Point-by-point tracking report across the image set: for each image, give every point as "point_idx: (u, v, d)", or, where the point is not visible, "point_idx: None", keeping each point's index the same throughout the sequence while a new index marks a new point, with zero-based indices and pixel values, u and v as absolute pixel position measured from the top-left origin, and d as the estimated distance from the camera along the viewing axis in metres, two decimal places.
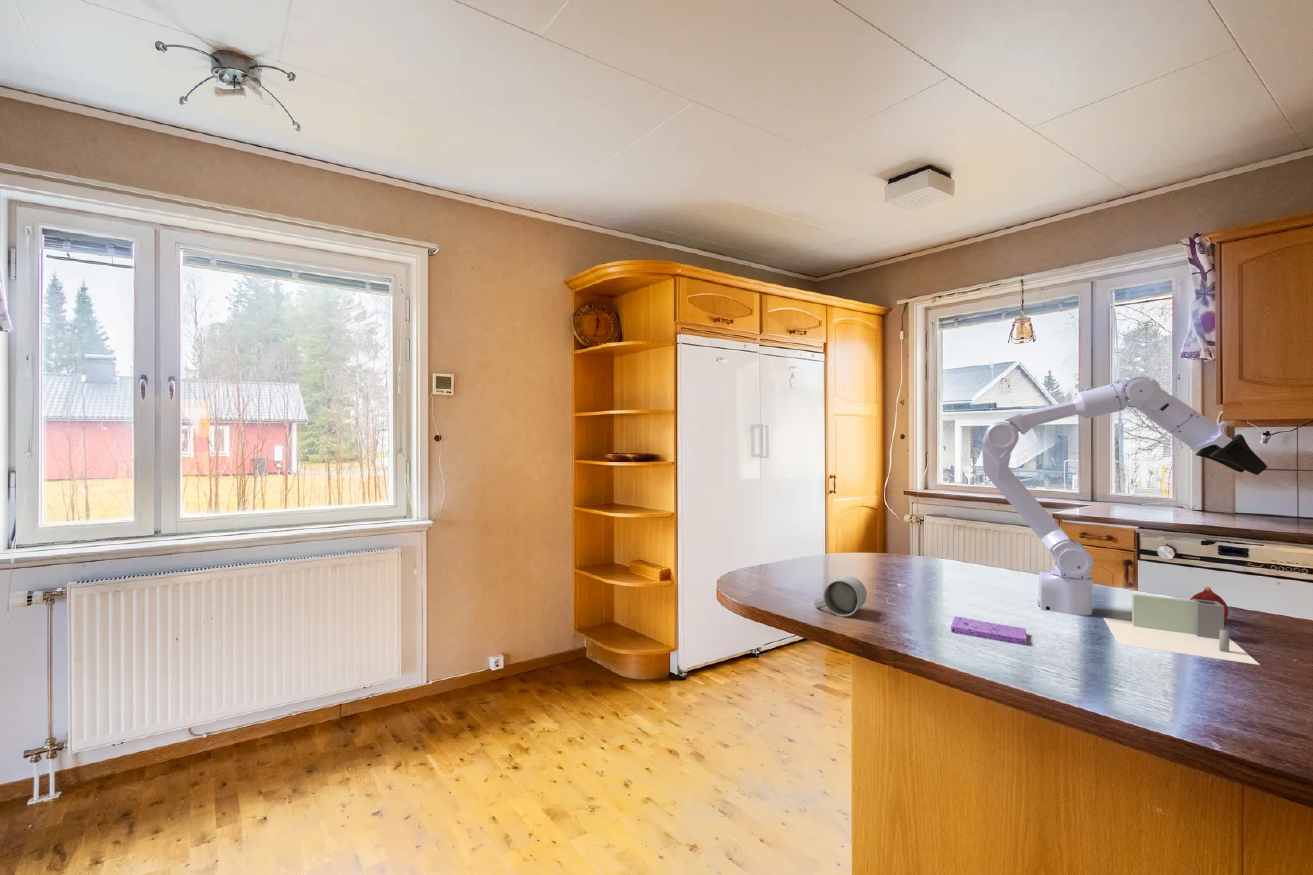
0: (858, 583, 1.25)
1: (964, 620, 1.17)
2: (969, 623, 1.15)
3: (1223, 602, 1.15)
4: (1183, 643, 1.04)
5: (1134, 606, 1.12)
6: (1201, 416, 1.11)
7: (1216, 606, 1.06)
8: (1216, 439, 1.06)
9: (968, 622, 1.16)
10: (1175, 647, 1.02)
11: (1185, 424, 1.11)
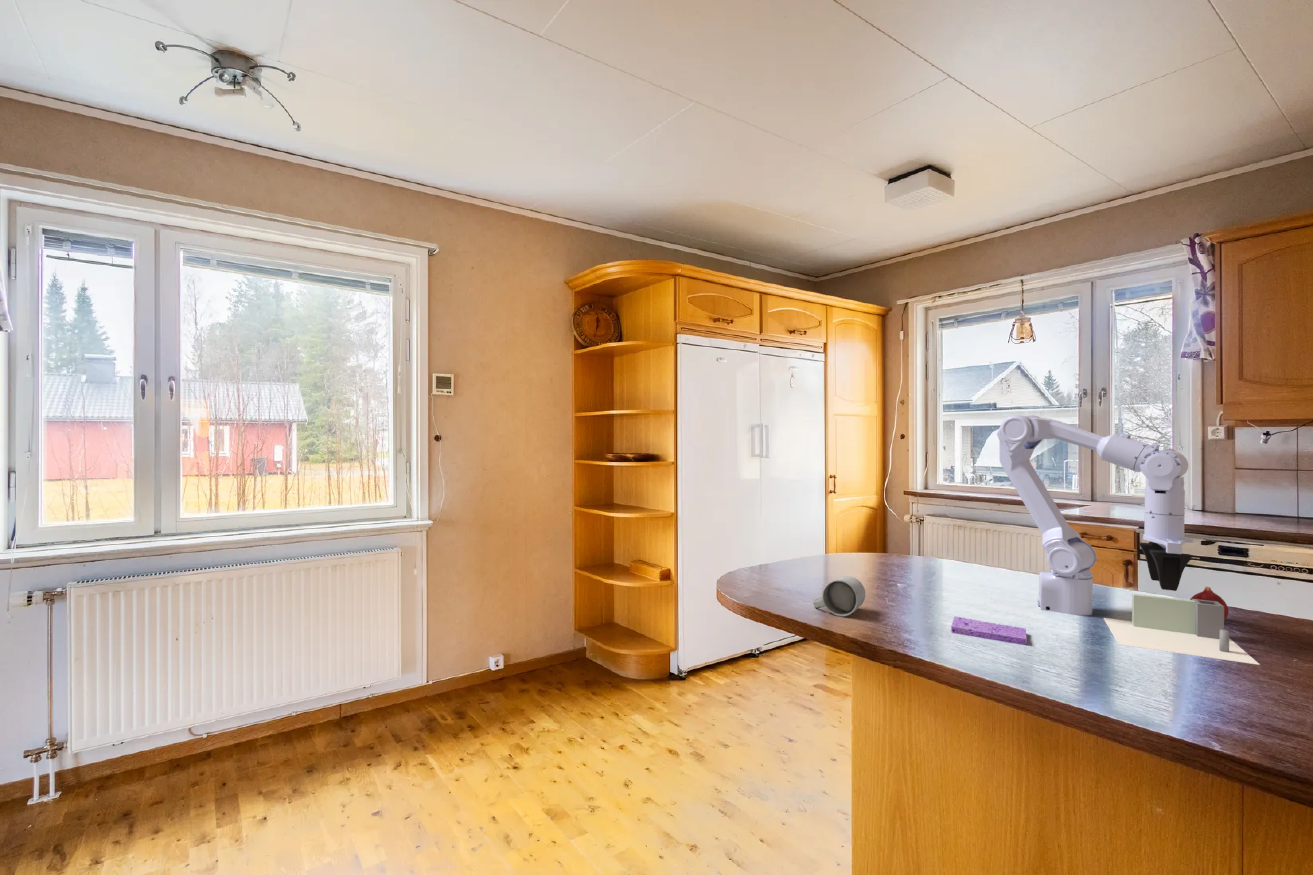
0: (857, 583, 1.25)
1: (963, 620, 1.17)
2: (969, 623, 1.15)
3: (1223, 602, 1.15)
4: (1183, 643, 1.04)
5: (1134, 606, 1.12)
6: (1182, 521, 1.08)
7: (1216, 606, 1.06)
8: (1171, 543, 1.05)
9: (968, 622, 1.16)
10: (1175, 647, 1.02)
11: (1164, 516, 1.08)
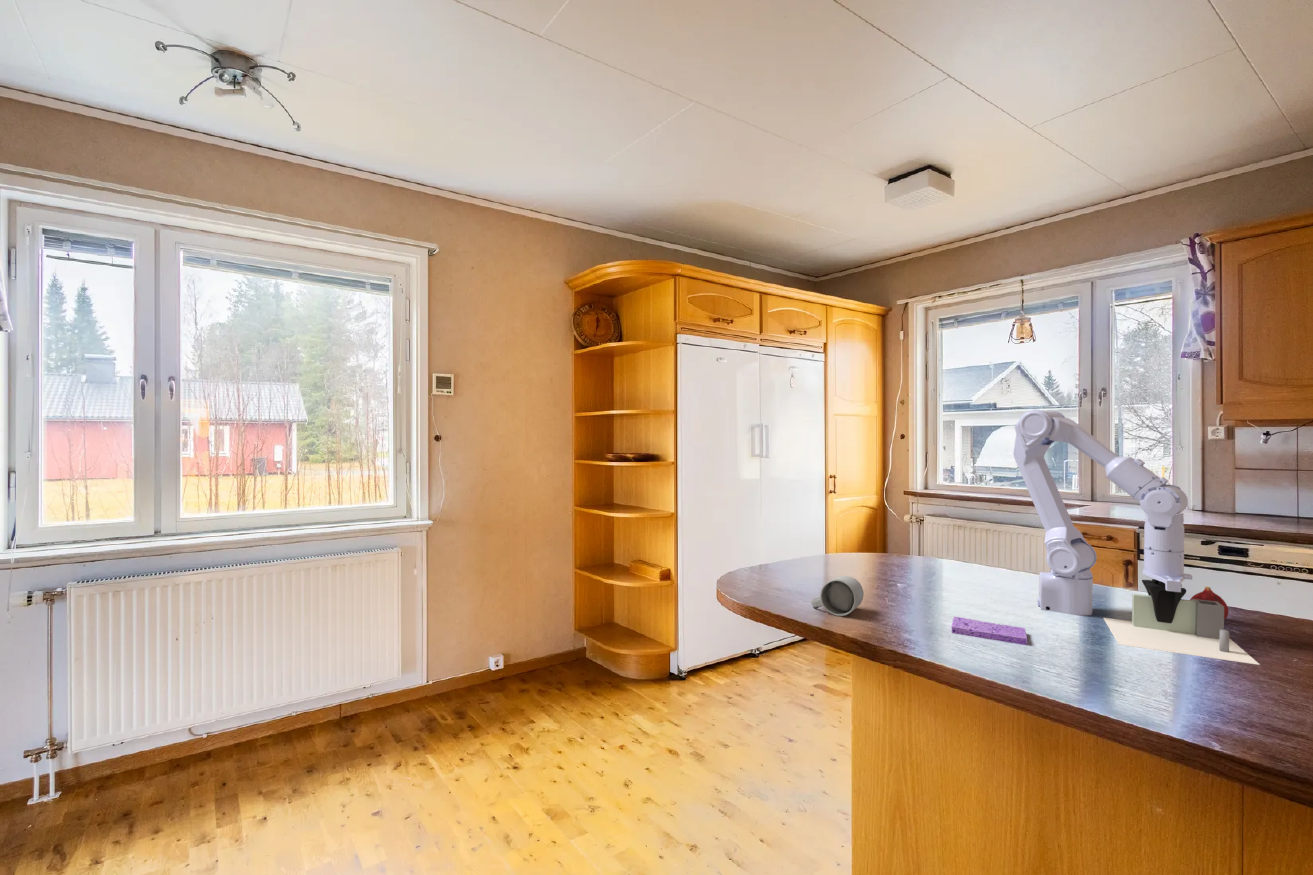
0: (855, 583, 1.26)
1: (963, 620, 1.17)
2: (969, 623, 1.15)
3: (1223, 602, 1.15)
4: (1183, 643, 1.04)
5: (1134, 606, 1.12)
6: (1182, 558, 1.08)
7: (1216, 606, 1.06)
8: (1170, 581, 1.05)
9: (968, 622, 1.16)
10: (1175, 647, 1.02)
11: (1164, 553, 1.08)
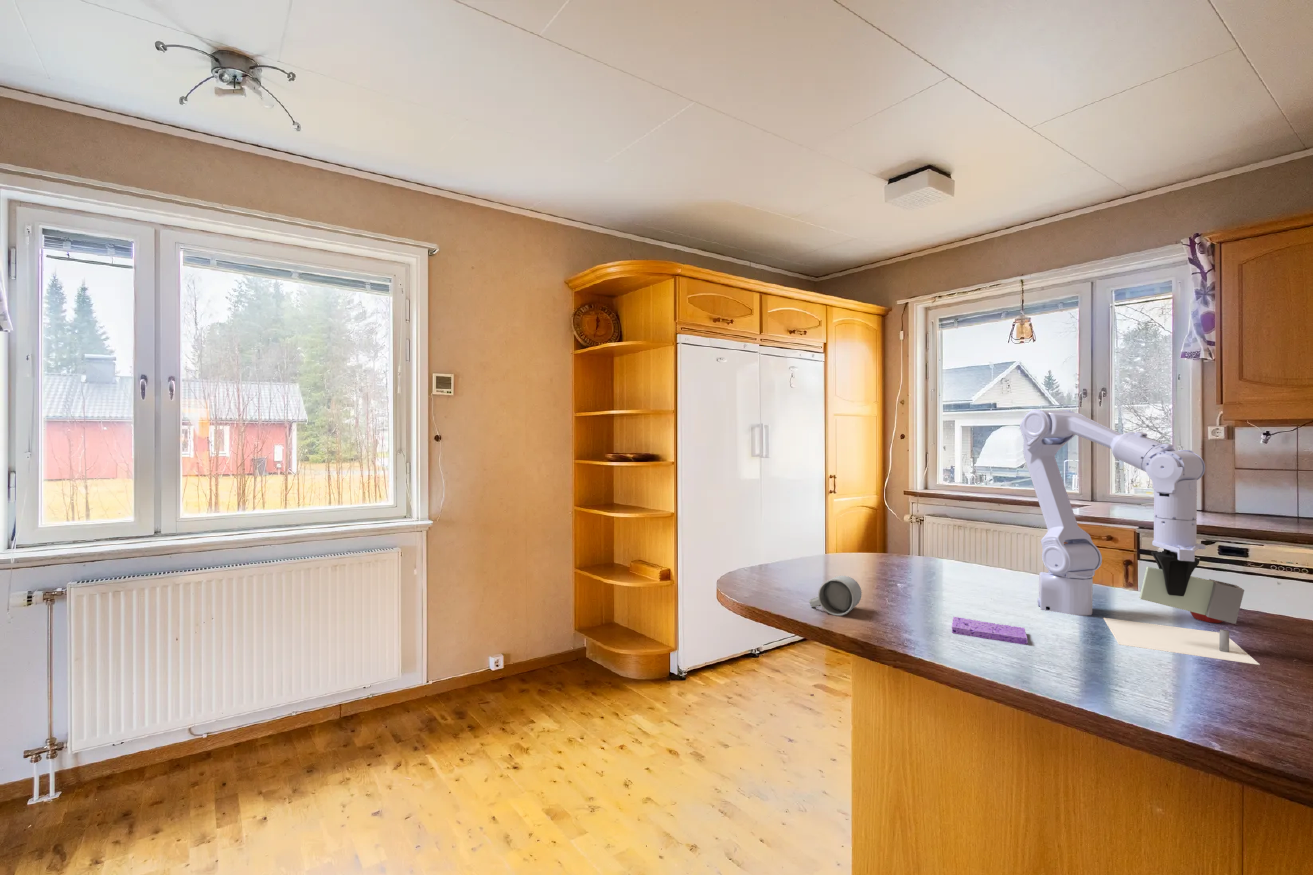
0: (853, 582, 1.26)
1: (963, 620, 1.16)
2: (969, 623, 1.15)
3: None
4: (1183, 643, 1.04)
5: (1146, 579, 1.06)
6: (1194, 526, 1.02)
7: (1235, 588, 0.99)
8: (1183, 550, 0.98)
9: (968, 622, 1.16)
10: (1175, 647, 1.02)
11: (1175, 521, 1.02)
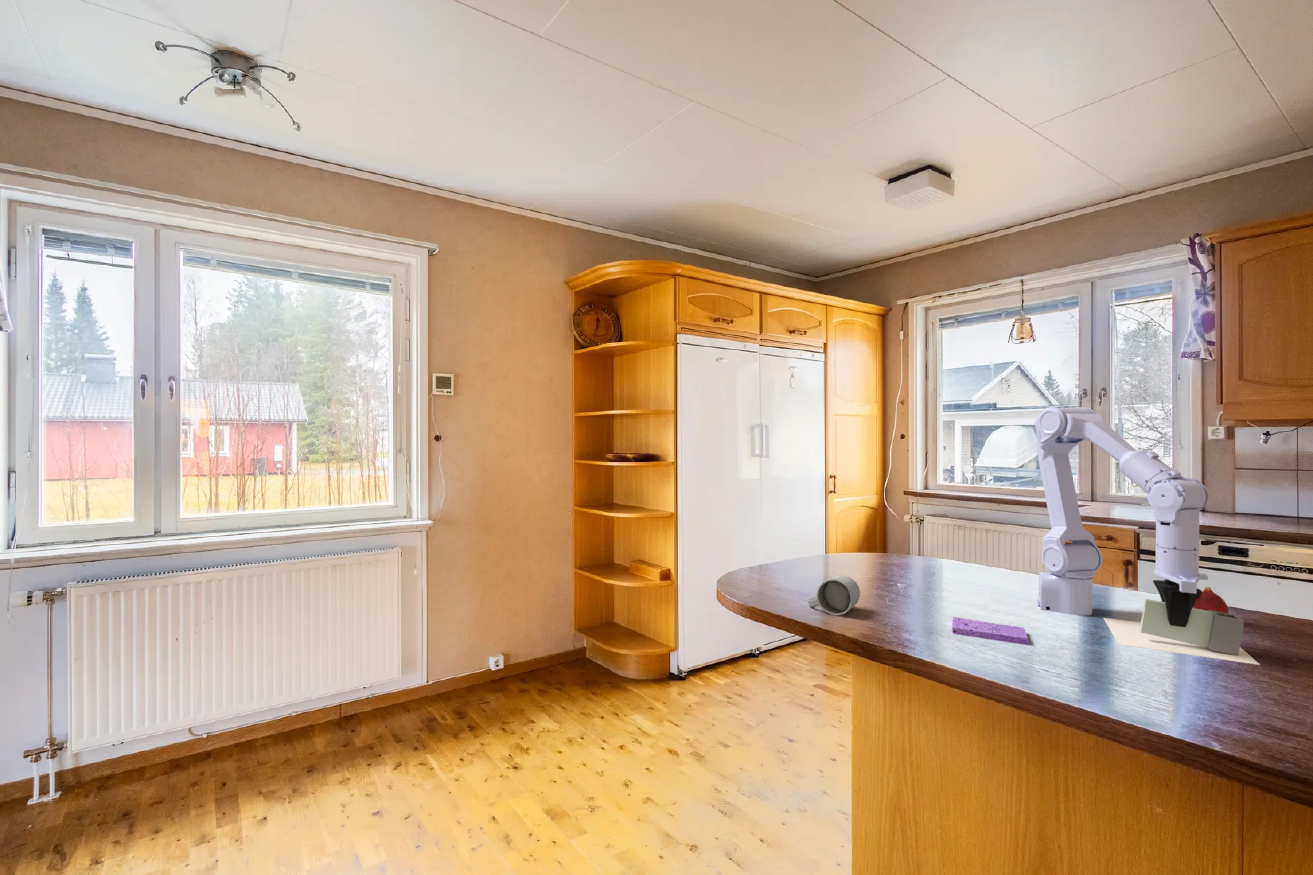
0: (851, 582, 1.26)
1: (963, 621, 1.16)
2: (969, 623, 1.15)
3: (1223, 602, 1.15)
4: (1183, 643, 1.04)
5: (1145, 611, 1.05)
6: (1197, 557, 1.00)
7: (1235, 620, 0.98)
8: (1185, 582, 0.97)
9: (967, 622, 1.16)
10: (1175, 647, 1.02)
11: (1177, 551, 1.01)
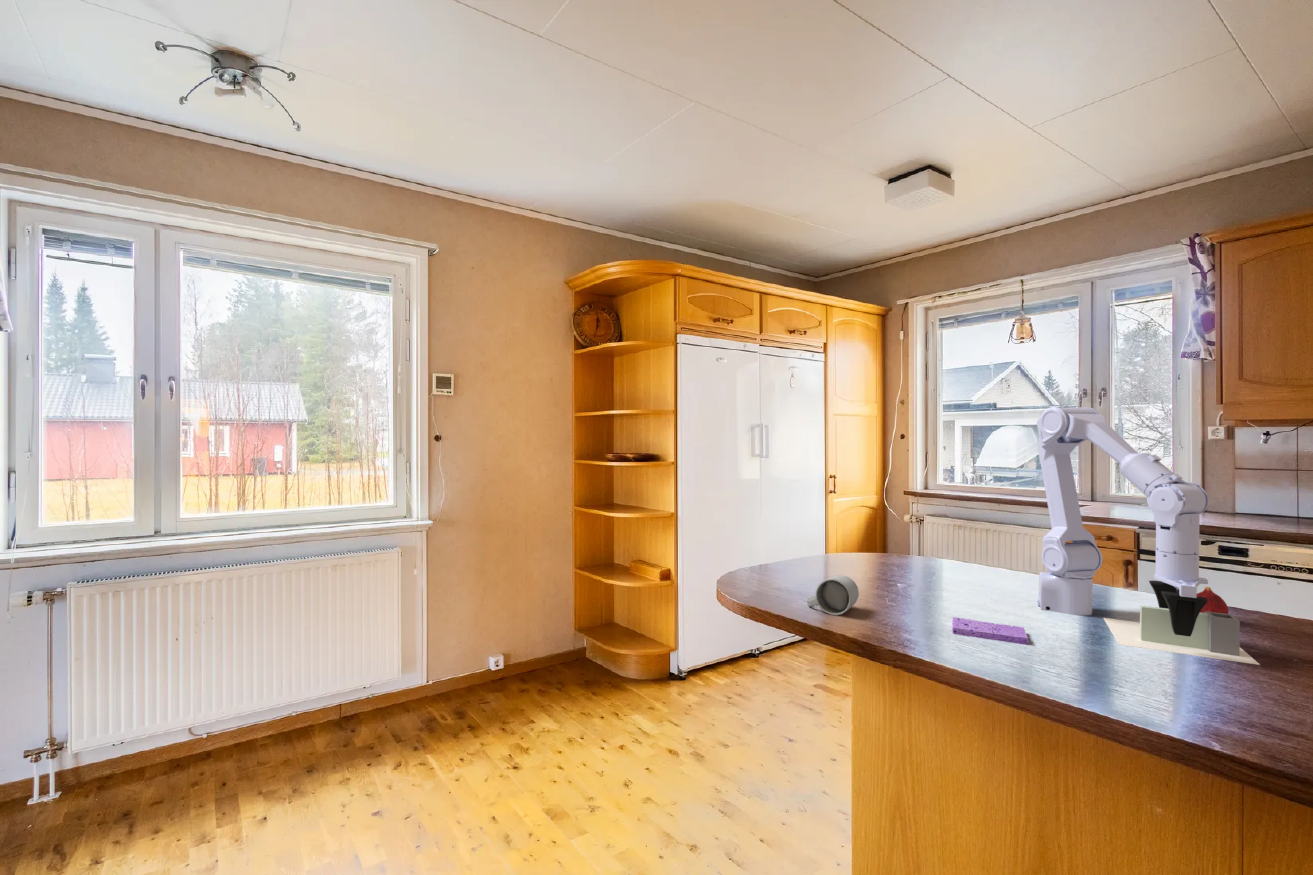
0: (850, 582, 1.26)
1: (963, 621, 1.16)
2: (969, 623, 1.15)
3: (1223, 602, 1.15)
4: None
5: (1142, 619, 1.05)
6: (1197, 561, 1.00)
7: (1231, 620, 0.98)
8: (1185, 586, 0.97)
9: (967, 622, 1.16)
10: (1175, 647, 1.02)
11: (1177, 555, 1.01)
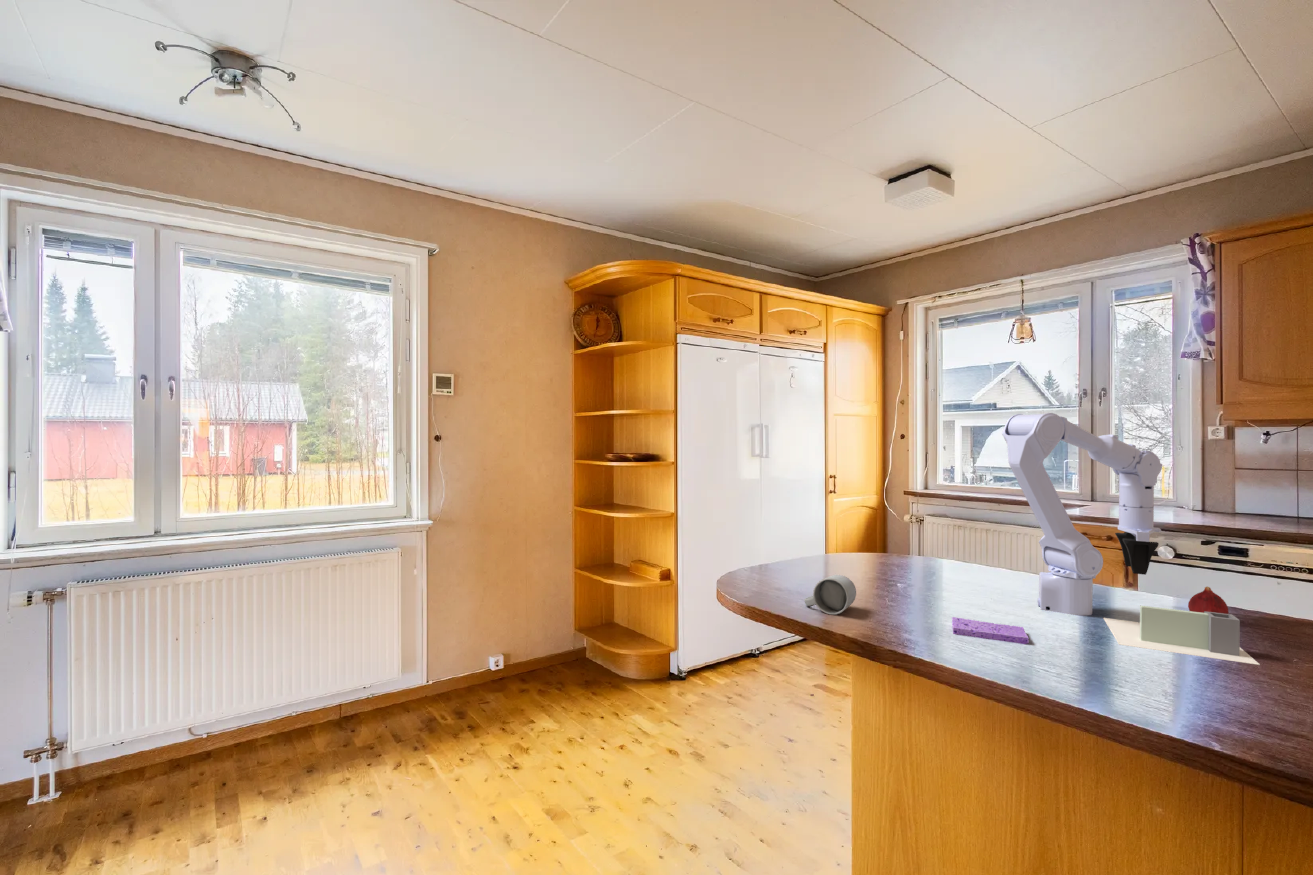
0: (848, 581, 1.27)
1: (962, 621, 1.16)
2: (969, 623, 1.15)
3: (1223, 602, 1.15)
4: None
5: (1142, 619, 1.05)
6: (1151, 513, 1.22)
7: (1231, 620, 0.98)
8: (1140, 532, 1.19)
9: (967, 623, 1.15)
10: (1175, 647, 1.02)
11: (1135, 508, 1.22)
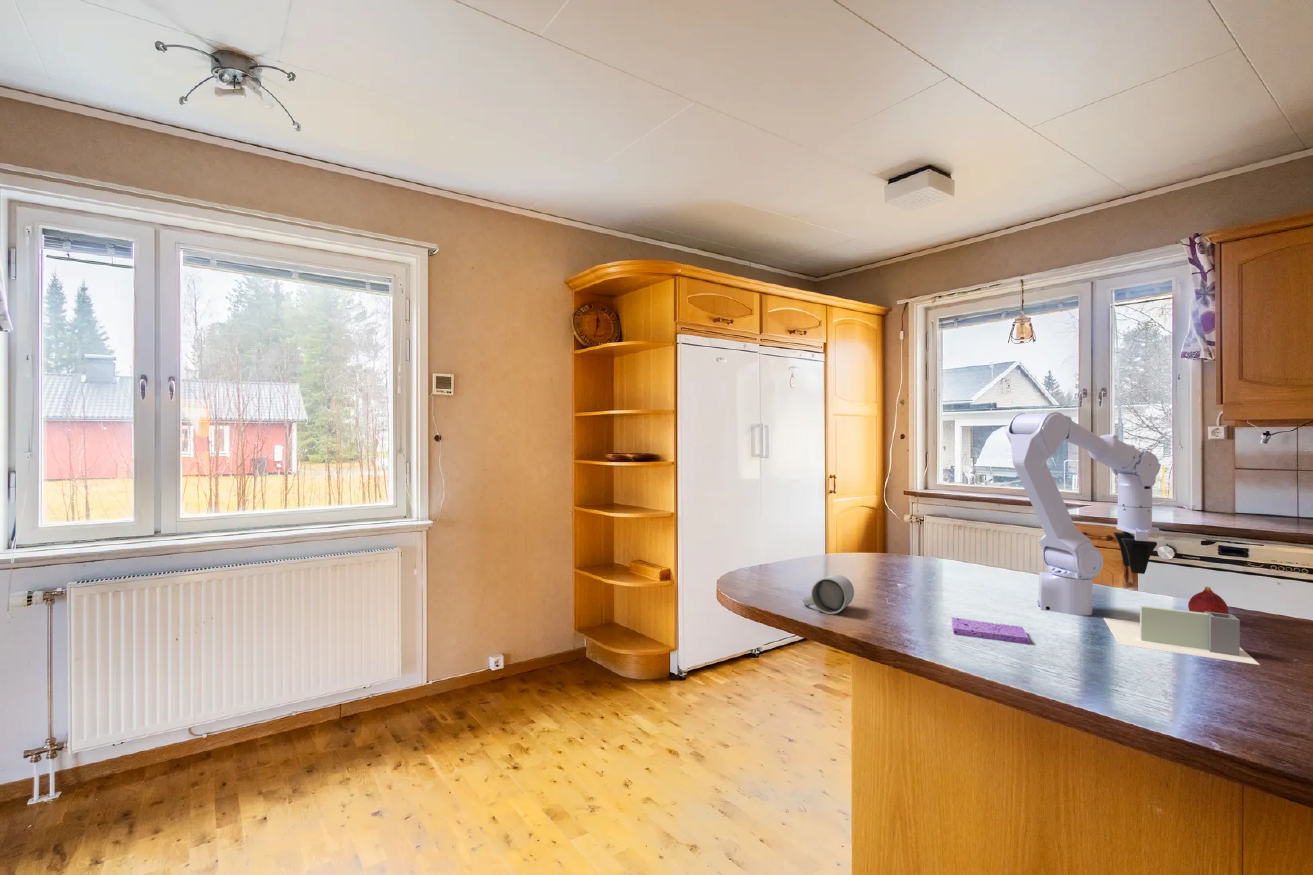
0: (846, 581, 1.27)
1: (962, 621, 1.16)
2: (968, 623, 1.15)
3: (1223, 602, 1.15)
4: None
5: (1142, 619, 1.05)
6: (1150, 513, 1.23)
7: (1231, 620, 0.98)
8: (1139, 532, 1.19)
9: (967, 623, 1.15)
10: (1175, 647, 1.02)
11: (1134, 508, 1.23)
